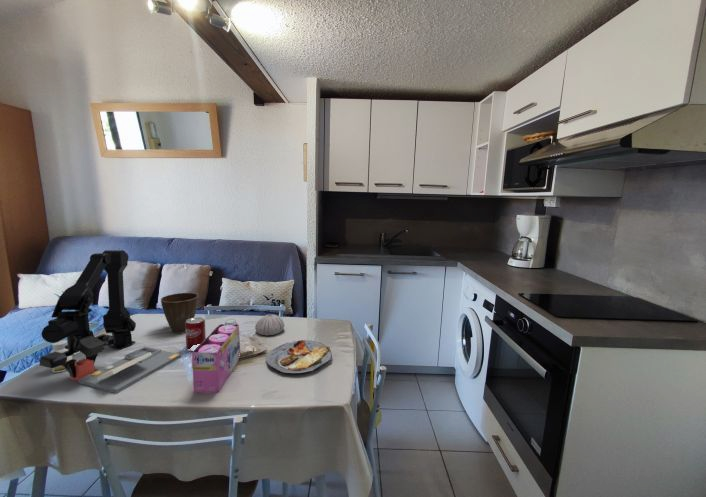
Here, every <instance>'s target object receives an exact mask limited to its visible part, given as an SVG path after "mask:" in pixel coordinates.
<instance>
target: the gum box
mask: <svg viewBox="0 0 706 497" xmlns="http://www.w3.org/2000/svg"><path fill="white" fill-rule="evenodd" d="M224 324H225V323H221V324H218V326H216V327H215V328H214V329H213V330H212V331H211V333H210V334H209V335H207V336H206V339H205V340H204V341H203V342H202V343H201V344H200V345H199V346H198V347H197V348H196V349H195V350H194V351H193V352H191V357H192V358H191V360H192V377H193V378H192V379H193V393H219V392H220V390H221V389H222V387H223V386H224V384H225V382H226V381H227V380H228V378H229V376H230V374H231V373H232V371H233V370H234V368H235V367H236V365H237V364H238V363H239V360H240V359H239V358H238V356H239V353H240V354H241V341H240V339H241V338H240V325H239V324H238V323H237V324H236V326H232V325H227V326H224Z"/></svg>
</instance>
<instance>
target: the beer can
mask: <svg viewBox="0 0 706 497" xmlns="http://www.w3.org/2000/svg"><path fill="white" fill-rule="evenodd" d="M223 324H224V326H227V325H232V326H236V324H238V322H237V320H236V319H233V318H231V319H227V320H225V323H223Z"/></svg>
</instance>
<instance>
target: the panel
mask: <svg viewBox="0 0 706 497" xmlns="http://www.w3.org/2000/svg"><path fill="white" fill-rule="evenodd" d="M160 350H161V353H159V354H157V355H155V356H153V357H152V358H150V359H148V360H146V361H144V362H142V363H141V362H137V363H135V364H133V365H131V366H129V367H127V368H125V369H123V370H121V371H119V372H117V373H115V374H113V375H111V376H108V377H106V378H104V379H101V380H99V381H98V379H97V377H99V376H101V375H102V374H104V373H106V372H108V371H110V370H112V369H114V368H116V367H118V366H120V365H123V364H125V363H127V362H129V361H131V360H127V359H125V357H124V358H121V359H120V360H117V361H115V362H113V363H111V364H108V365H106V366H103V367H102V368H100V369H97V370H95V372H93V373H91V374H89V375H87V376H85V377H83V378H80V379H78V380H79V381H78V383H79V384H82V385H85V386H90V387H93V388H97V389H101V390H105V391H107V392H111V393H116V394H118V393H120V392H122V391H123V390H126V389H127V388H129V387H131V386H132V385H135V384H136V383H138V382H140V381H141V380H143V379H146V378H147V377H148V376H151V375H153V374H154V373H156V372H157V371H160V370H161V369H163V368H165V367H167V366H169V365H170V364H172V363H173V362H175V361H178V360H180V359H181V358H182V354H181V353H177V352H171V351H166V350H162V349H160ZM149 352H150V351H143V352H141V353H139V354H136V355H134V357H140V356H143V355H145V354H147V353H149ZM151 353H153V352H151Z"/></svg>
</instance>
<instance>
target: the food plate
mask: <svg viewBox="0 0 706 497" xmlns="http://www.w3.org/2000/svg"><path fill="white" fill-rule="evenodd" d="M330 348H331V347H330V346H327V345H325V344H324V343H322V342H319V341H315V340H307V339H306V340H305V339H304V340H303V339H302V340H301V339H300V340H295V341H290V342H286V343H283V344H281V345H278V346H277V347H274V348H273V349H271V350H270V351H268V353H267V354H266V356H265V359H266V363H267V365H269V366H270V367H271V368H273V369H275V370H276V371H280V372H281V373H287V374H289V373H290V374H300V373H302V374H303V373H308V372H313V371H314V370H315V369H317V368H319V367H322V366H323V365H324V364H326V363H327V362H329V361H330V360H331V359H332V358H333V355H332V350H331V349H330ZM279 363H280V364H279ZM286 366H288V367H287V368H285V367H286Z"/></svg>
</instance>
